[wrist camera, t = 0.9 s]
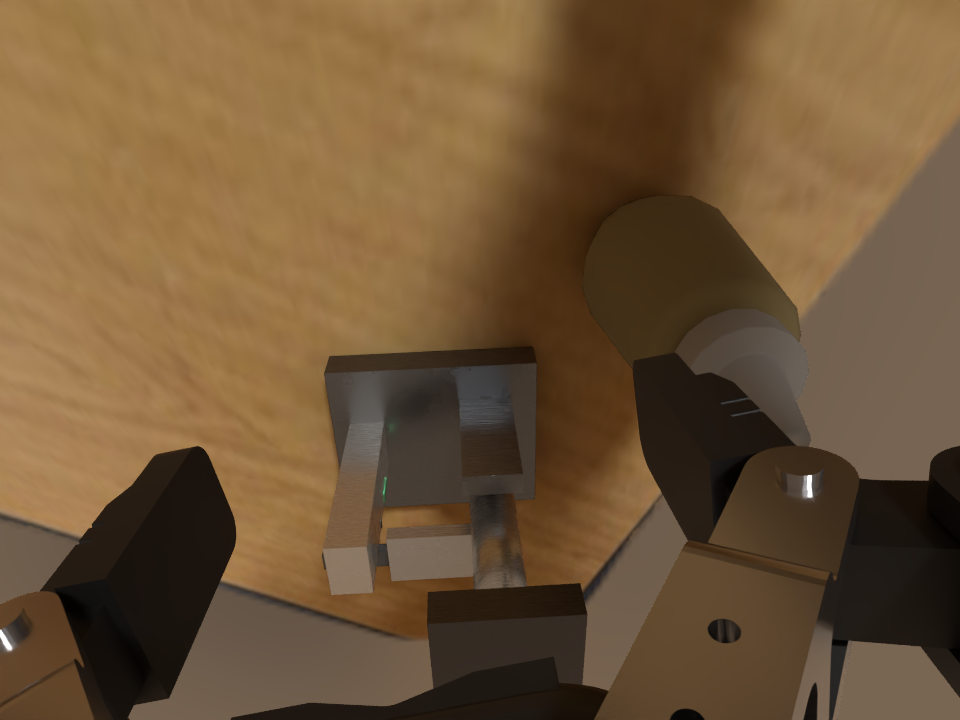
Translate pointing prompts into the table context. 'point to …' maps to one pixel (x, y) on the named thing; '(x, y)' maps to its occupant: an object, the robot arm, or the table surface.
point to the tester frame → (423, 441)
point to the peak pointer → (382, 557)
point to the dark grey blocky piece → (489, 596)
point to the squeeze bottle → (697, 302)
